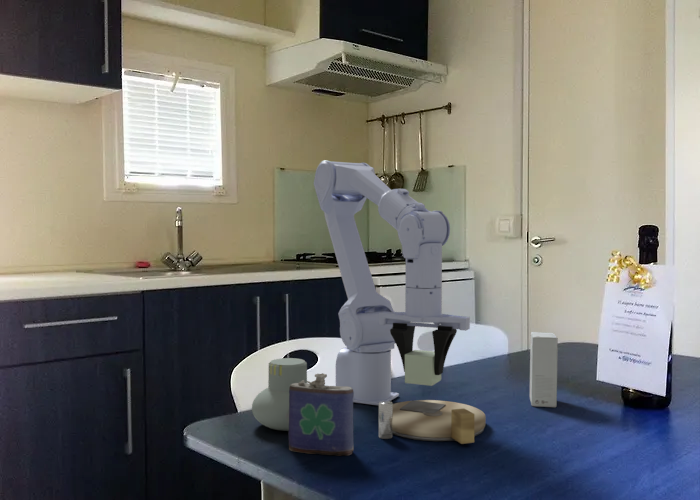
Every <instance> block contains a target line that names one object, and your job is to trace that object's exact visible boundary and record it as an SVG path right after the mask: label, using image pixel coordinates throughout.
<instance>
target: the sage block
mask: <svg viewBox="0 0 700 500" xmlns="http://www.w3.org/2000/svg"><path fill="white" fill-rule="evenodd" d="M434 360H435V352H434V351H433V350H421V349H413V351H411V352H409V353H407V354H405V372H404V384H412V385H421V386H430V387H432V386H434V385H436V384H437V383H439V382H440V381H442V374H440V375H435V373H434Z"/></svg>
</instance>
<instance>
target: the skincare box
mask: <svg viewBox="0 0 700 500" xmlns="http://www.w3.org/2000/svg"><path fill="white" fill-rule="evenodd" d="M558 340H559V339H558V336H557V335H556V334H555V332H540V331H531V332H530V344H529V345H530V347H529V348H530V349H529V353H530V354H529V356H530V357H529V359H530V360H529V400H530V405H531V406H532V407H545V408H556V407H557V403H558V401H557V399H558V398H557V396H558V391H557V390H558V387H557V386H558V350H559V349H558V348H559V347H558Z"/></svg>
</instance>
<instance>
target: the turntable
mask: <svg viewBox="0 0 700 500" xmlns="http://www.w3.org/2000/svg"><path fill="white" fill-rule="evenodd" d="M485 427H486V414H485V413H484V411H482V410H481V409H479V408H477V407H475V406H472V405H469V404H466V403H461V402H455V401H447V400H439V399H438V400H437V399H436V400H435V399H418V400H405V401H400V402H395V403H393V407H392V430H393V431H396V432H399V433H402V434H407V435H412V436H420V437H433V438H446V437H451V438H453V439H455V440H456V441H455V442H458V443H459V444H461V445H464V444H472V443H473V444H474V443H475V437H474V433H476V432H479V431H481V430H482V429H483V428H484V429H485Z"/></svg>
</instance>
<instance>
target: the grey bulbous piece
mask: <svg viewBox="0 0 700 500" xmlns="http://www.w3.org/2000/svg"><path fill="white" fill-rule="evenodd" d="M307 370H308V363H307V361H305V359H302V358H295V357H294V358H293V357H285V358H284V357H283V358H276V359H275V358H274V359H272V360H270V361H269V363H268V382H267V383H268V387H267V388H265V389H263V390H262V391H260V392H258V394H257V395H256V396H255V398H254V399H253V401H252V404H251V413H252V415H253V417H254V418H255V420H256V421H257V422H259V423H260V425H262V426H264V427H266V428H269V429H271V430H276V431H283V432H289V388H290V385H291V384H294V383H299V382H301V381H303V380H305V382H304V383H307V381H308V371H307Z"/></svg>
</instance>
